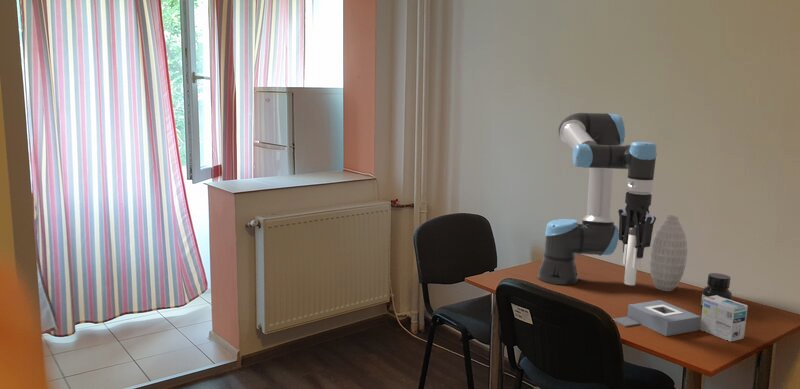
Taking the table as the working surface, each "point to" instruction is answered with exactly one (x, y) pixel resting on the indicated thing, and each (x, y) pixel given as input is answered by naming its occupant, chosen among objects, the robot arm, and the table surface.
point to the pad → (626, 321)
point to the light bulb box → (723, 318)
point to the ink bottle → (717, 286)
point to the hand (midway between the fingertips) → (631, 265)
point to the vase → (668, 254)
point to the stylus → (630, 258)
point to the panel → (664, 317)
